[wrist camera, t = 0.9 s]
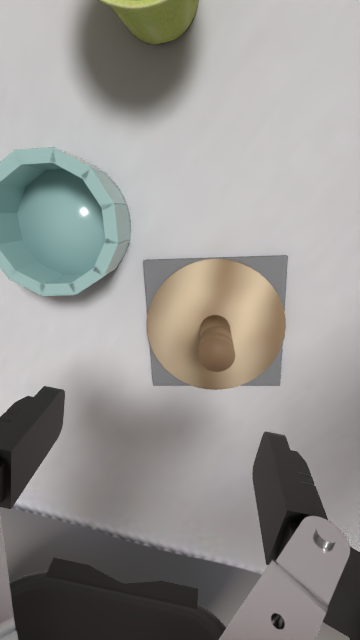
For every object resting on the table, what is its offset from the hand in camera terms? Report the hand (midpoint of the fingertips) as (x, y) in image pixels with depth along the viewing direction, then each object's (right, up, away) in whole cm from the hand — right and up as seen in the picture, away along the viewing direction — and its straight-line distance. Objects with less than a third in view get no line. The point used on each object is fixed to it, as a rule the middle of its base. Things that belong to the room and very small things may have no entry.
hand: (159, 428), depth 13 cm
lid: (+4, +4, +19) cm, 20 cm away
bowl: (-9, +13, +17) cm, 24 cm away
